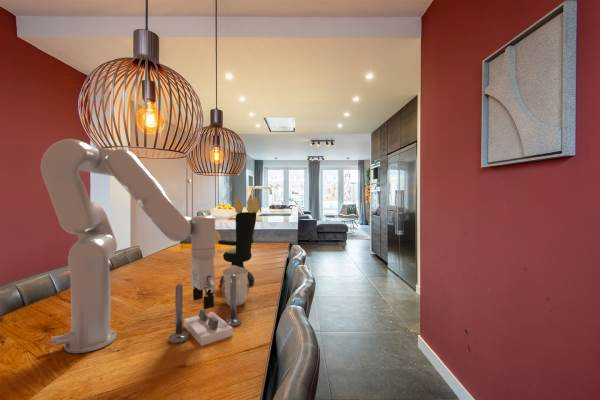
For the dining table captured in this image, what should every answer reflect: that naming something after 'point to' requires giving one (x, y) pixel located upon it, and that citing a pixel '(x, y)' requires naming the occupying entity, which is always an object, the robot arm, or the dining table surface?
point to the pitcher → (241, 284)
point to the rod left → (178, 319)
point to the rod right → (233, 304)
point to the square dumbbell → (212, 320)
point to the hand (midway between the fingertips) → (203, 303)
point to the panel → (207, 329)
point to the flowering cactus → (241, 236)
